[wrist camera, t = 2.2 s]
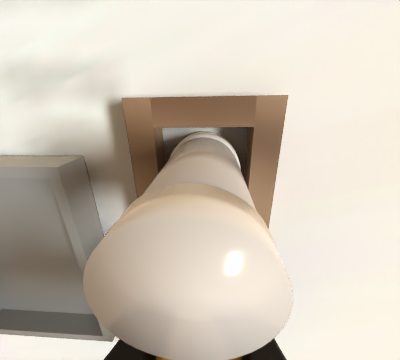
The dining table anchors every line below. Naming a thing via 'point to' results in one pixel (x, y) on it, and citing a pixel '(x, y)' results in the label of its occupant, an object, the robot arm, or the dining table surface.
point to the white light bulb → (191, 262)
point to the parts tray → (47, 247)
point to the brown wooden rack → (209, 117)
